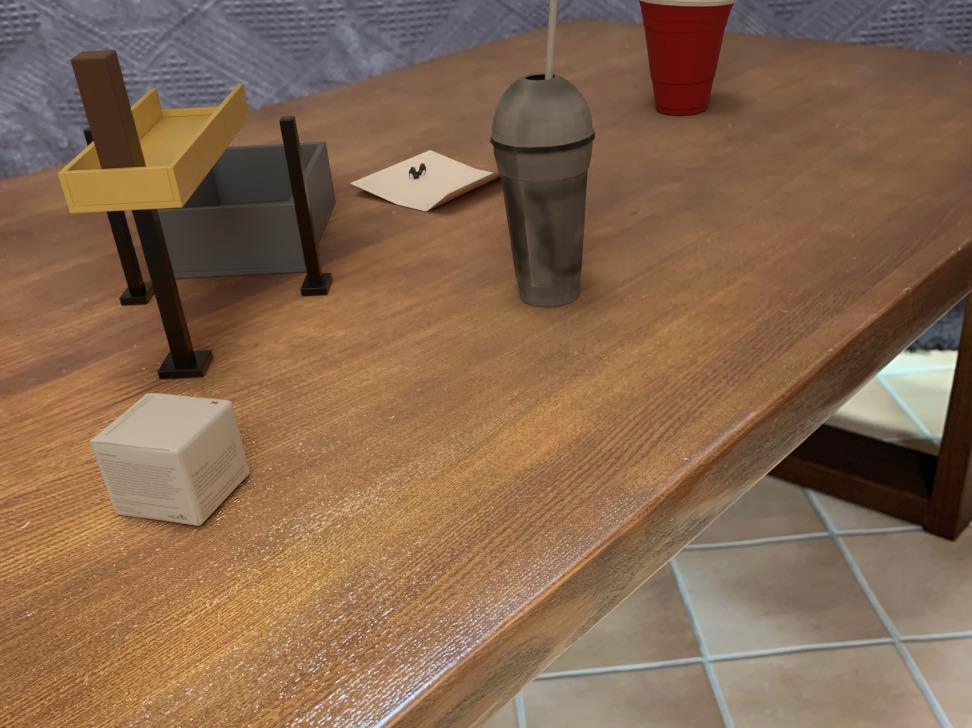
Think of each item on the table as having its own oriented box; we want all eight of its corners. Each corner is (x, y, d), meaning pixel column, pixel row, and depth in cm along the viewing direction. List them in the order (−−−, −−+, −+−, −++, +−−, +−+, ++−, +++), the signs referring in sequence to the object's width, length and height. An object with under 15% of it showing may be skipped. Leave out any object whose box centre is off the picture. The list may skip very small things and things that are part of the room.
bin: (306, 272, 87) (294, 204, 84) (168, 279, 87) (151, 212, 84) (335, 201, 101) (326, 141, 98) (216, 207, 101) (203, 147, 98)
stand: (299, 372, 72) (261, 181, 65) (63, 384, 73) (-2, 195, 65) (332, 279, 85) (304, 111, 78) (132, 290, 86) (84, 123, 78)
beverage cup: (487, 287, 83) (464, -1, 71) (573, 268, 85) (565, -13, 73) (523, 322, 77) (505, 17, 65) (614, 301, 79) (612, 2, 68)
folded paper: (431, 161, 110) (429, 141, 109) (527, 178, 104) (526, 157, 103) (349, 195, 102) (346, 174, 101) (448, 216, 96) (446, 194, 95)
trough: (182, 207, 64) (145, 56, 59) (69, 213, 64) (23, 63, 59) (250, 116, 80) (225, -8, 75) (159, 121, 81) (129, -2, 76)
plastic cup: (752, 108, 120) (760, -11, 113) (677, 127, 115) (680, 4, 108) (688, 91, 127) (692, -22, 120) (615, 108, 123) (615, -9, 116)
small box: (167, 462, 64) (146, 388, 61) (253, 474, 62) (235, 398, 59) (110, 516, 59) (84, 439, 56) (201, 530, 58) (179, 451, 55)
